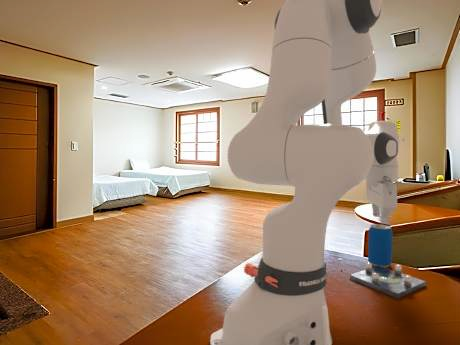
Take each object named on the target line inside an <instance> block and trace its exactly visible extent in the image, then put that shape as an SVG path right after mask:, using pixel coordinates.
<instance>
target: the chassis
mask: <svg viewBox="0 0 460 345" xmlns="http://www.w3.org/2000/svg"><path fill="white" fill-rule="evenodd" d="M394 264H395V263H394ZM402 266H403V265H401V264H398V263H396V264H395V265H394V270H393V269H389V268H388V267H381V266H373V265H372V263H371V262H369V261H365V269H363V270H360V271H357V272H354V273H352V274H349V280H352V281H354V282H357V283H359V284H361V285H363V286H366V287H368V288H371V289H373V290H376V291H379V292H381V293H384V294H386V295H388V296H391V297H393V298H396V299H400V298H402V297H405V296H407V295H409V294H411V293H413V292H415V291H418V290H420V289H422V288H424V287H426V284H427V281H425V280H422V279H419V278H418V277H413V276H411V275H409V274H404V273H402Z"/></svg>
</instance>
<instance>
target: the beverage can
mask: <svg viewBox="0 0 460 345" xmlns="http://www.w3.org/2000/svg"><path fill="white" fill-rule="evenodd" d="M367 250H368V252H367V253H368V254H367V262H371V263H372V267H375V266H381V267H384V268H388V267H389V266H391V265H392V263H393V262H392V259H393V258H392V256H393V255H392V254H393V230H392V227H391V226H390V225H388V224H382V223H381V224H380V223H379V224H378V223H372V224H371V225H370V227H369V228H368V248H367Z"/></svg>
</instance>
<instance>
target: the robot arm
mask: <svg viewBox="0 0 460 345" xmlns="http://www.w3.org/2000/svg"><path fill="white" fill-rule="evenodd" d="M382 5H383V0H286V1H285V2H283V4H282V6H281V8H280V9H279V10H278V12H277V14H276V16H275V20H274V35H273V39H272V40H273V41H272V47H271V48H272V49H271V57H270V67H269V76H268V82H267V88H266V93H265V96H264V98H263V101H262V103H261V104H260V106H259V109H258V110H257V112H256V114H255V115H254V116H253V118H252V119H251V120H250V121H249V122H248V124H246V125H245V127H243V128H241V130H239V131H237V133H235V135H234V136H233V137H232V138H231V141H230V143H229V145H228V149H227V163H228V167H229V169H230V171H231V172H232V174H233V175H234V177H235V178H237V179H239V180H241V181H245V182H248V183H249V182H250V183H253V184H258V185H265V186H266V185H267V186H288V187H294V195H293V198H292V200H291V201H289V202H287V203H284V204H281V205H280V206H277V207H276V208H274V209H272V210H270V211H269V212H268V213H267V214H266V216H265V217H264V219H263V223H262V257H261V259H260V260H259V263H258V266H256V265H254V264H252V263H249V262H248V263H246V264H245V266H244V267H243V268H244V269H243V273H245V274H246V275H247V276H248V275H249V276H250V277H251V278H253V277H254V279H253V281H252V283H250V284H249V286H248V287H247V288H246V289H245V290H244V291H243V292H242V293H241V294H240V295H239V296H238V297H237V298H236V299H235V300H234V301H233V302H232V303H231V304H230V305H229V306H228V307H227V309H226V311H225V314H224V319H223V325H222V327H221V328H220V329H218V330H217V331H215V332H212V334H210V340H209V345H332V344H333V340H332V339H333V338H332V335H331V331H330V330H331V329H330V318H329V310H328V305H327V300H326V295H325V294H326V293H325V287H326V285H327V277H328V272H327V264H326V262H325V246H326V245H325V243H326V236H327V234H326V233H327V227H328V221H329V218H330V216H331V214H332V212H333V210H334V207H335V206H336V205H337V204H338V202H339V201H340V199H341V198H343V196H344V195H346V193H348V192H349V191H350V190H352V189H353V188H355V187H356V186H358V185H359V184H360V183H361V184H362V182H363V181H364V180H365V182H366V184H365V185H366V196H367V200H368V201H370V202H371V208H372V216H373V217H375V218H377V217H380V223H381V224H382V225H388V224H389V220H390V219H389V218H390V215H391V212H392V211H393V212H395V211H396V210H397V209H398V189H397V188H398V187H397V185H396V184H395V183H396V182H398V181H399V162H398V155H399V152H400V139H399V136H400V135H399V129H398V124H397V123H395V122H393V121H389V120H388V121H387V120H376V121H373V122H371V123H370V124H369V126H368V130H367V131H364V130H363V129H361V128H360V127H356V126H351V125H346V124H345V125H344V124H343V120H342V119H343V118H342V104H344V103H346V102H347V101H349V100H351V99H353V98H354V97H357V96H358V95H359V94H361V93H362V92H364V91H365V90H366V89H367V88H368V87H369V86H371V84H372V83H373V81H374V80H375V76H376V73H377V61H376V60H377V59H376V55H375V51H374V46H373V41H372V39H371V35H370V32H369V31H370V29H371V28H373V27H374V26H375V25H376V23H377V21H378V20H379V18H380V16H381V12H382V11H381V10H382ZM320 104H321V109H322V119H323V123H316V124H315V123H314V124H298V122H299V120H300V119H301V117H303V116H304V114H306V113H308V112H309V111H310V110H313V109H314V108H316V107H318V106H319V105H320ZM380 210H381V211H380Z"/></svg>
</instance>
